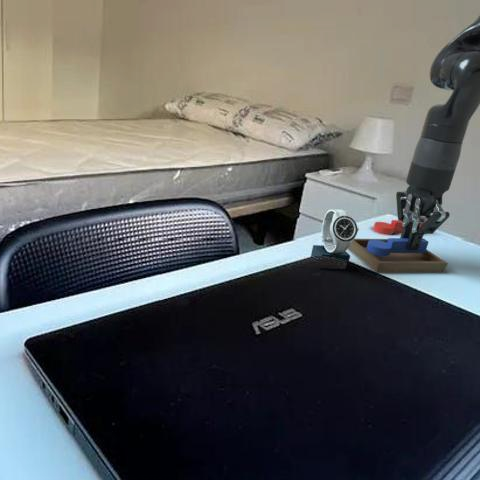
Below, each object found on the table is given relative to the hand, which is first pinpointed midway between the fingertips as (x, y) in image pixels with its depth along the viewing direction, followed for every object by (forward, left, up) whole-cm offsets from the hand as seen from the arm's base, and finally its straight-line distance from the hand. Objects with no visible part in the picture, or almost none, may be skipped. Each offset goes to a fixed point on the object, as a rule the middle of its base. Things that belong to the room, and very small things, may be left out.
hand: (408, 246), depth 100 cm
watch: (+18, +2, -3) cm, 18 cm away
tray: (+2, 0, -3) cm, 4 cm away
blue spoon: (+3, 0, -1) cm, 3 cm away
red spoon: (-8, -15, -3) cm, 17 cm away
